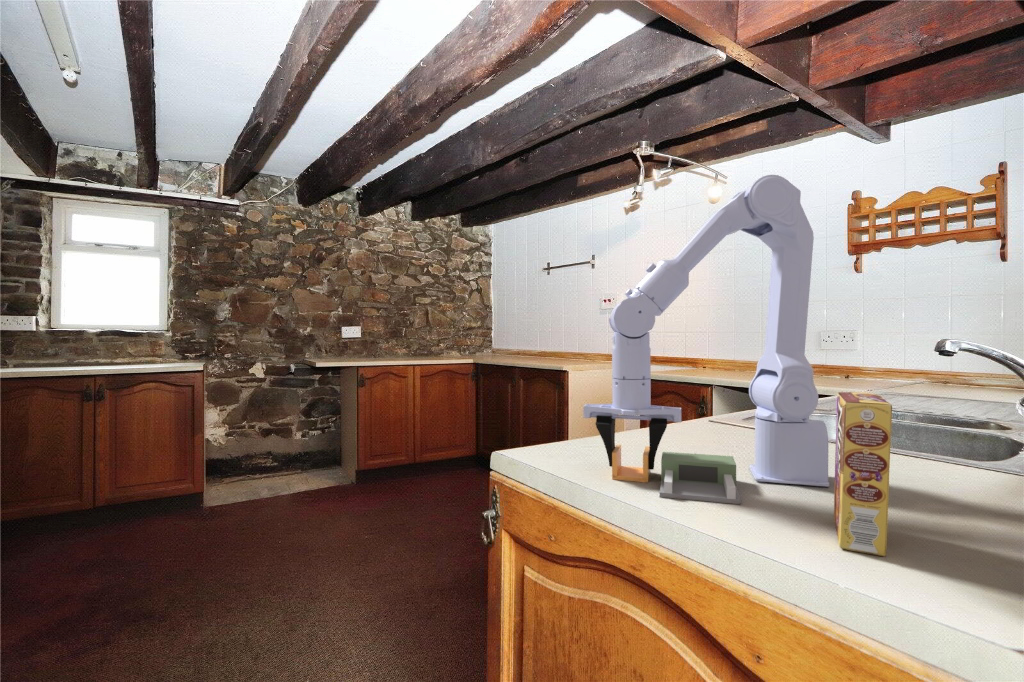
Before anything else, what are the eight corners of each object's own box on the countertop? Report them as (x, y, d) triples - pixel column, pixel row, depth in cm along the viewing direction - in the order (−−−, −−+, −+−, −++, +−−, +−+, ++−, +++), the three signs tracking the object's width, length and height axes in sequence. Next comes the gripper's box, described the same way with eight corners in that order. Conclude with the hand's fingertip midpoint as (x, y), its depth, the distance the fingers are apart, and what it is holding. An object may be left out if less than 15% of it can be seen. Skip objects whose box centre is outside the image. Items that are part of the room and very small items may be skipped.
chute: (650, 472, 81) (650, 446, 81) (648, 482, 76) (647, 455, 75) (616, 469, 82) (616, 444, 82) (612, 479, 77) (612, 452, 77)
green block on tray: (732, 479, 76) (732, 456, 76) (740, 504, 66) (740, 477, 66) (662, 474, 79) (662, 451, 79) (659, 496, 69) (659, 471, 69)
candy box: (891, 559, 50) (893, 403, 50) (839, 550, 52) (840, 400, 52) (878, 527, 58) (879, 392, 58) (833, 520, 60) (834, 390, 60)
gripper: (579, 379, 77) (579, 469, 77) (681, 381, 72) (681, 477, 73) (587, 375, 84) (588, 457, 84) (681, 377, 79) (681, 464, 80)
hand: (631, 466), depth 79 cm, fingers closed on chute, 5 cm apart
